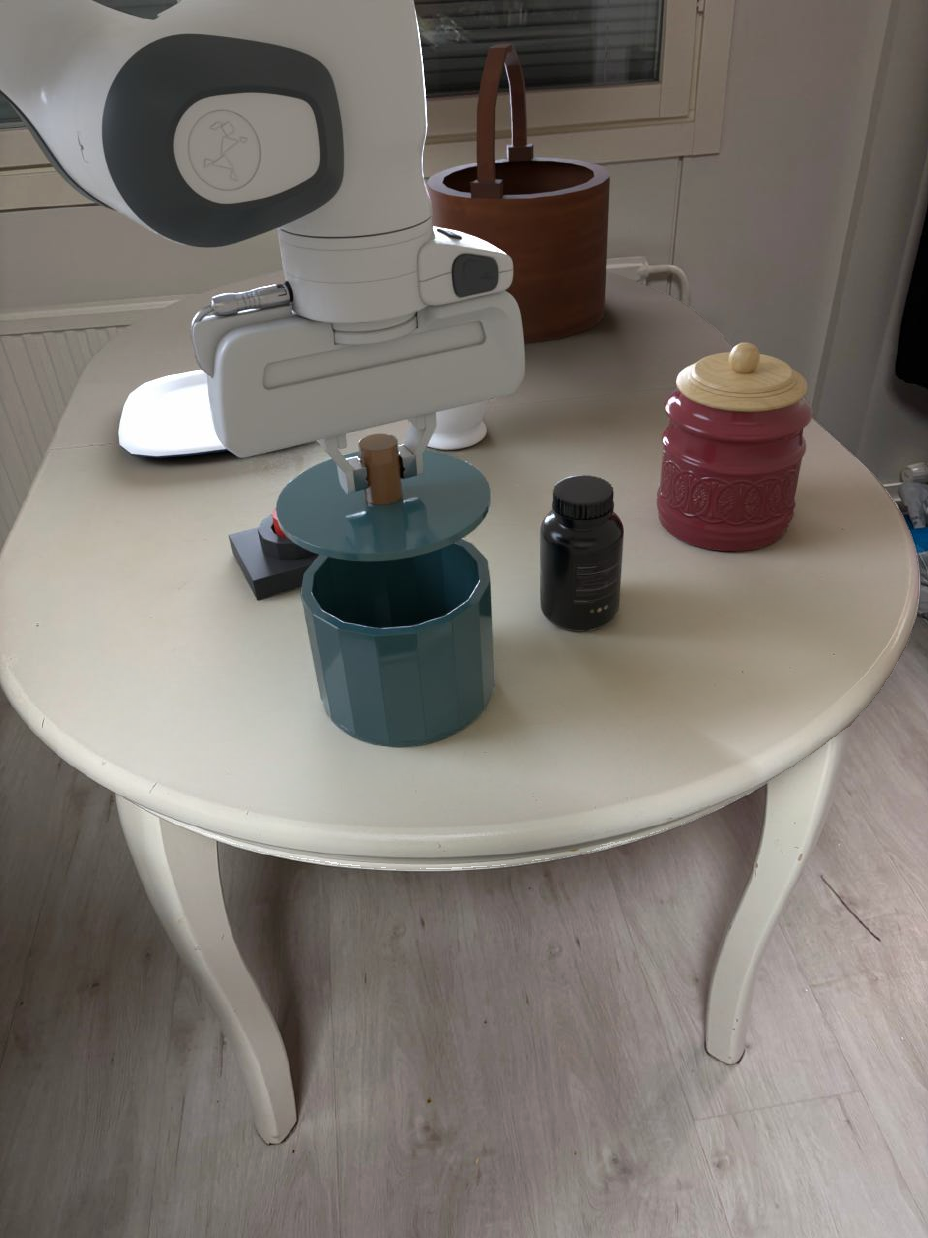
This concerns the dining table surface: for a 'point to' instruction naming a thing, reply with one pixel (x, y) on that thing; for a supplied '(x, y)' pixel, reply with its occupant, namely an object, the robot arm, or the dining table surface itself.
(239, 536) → the box
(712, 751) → the dining table surface
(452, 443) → the jar
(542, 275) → the wooden bucket
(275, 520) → the release button
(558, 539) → the supplement bottle
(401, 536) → the jar lid
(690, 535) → the kitchen canister
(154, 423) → the plate
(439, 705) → the storage jar
